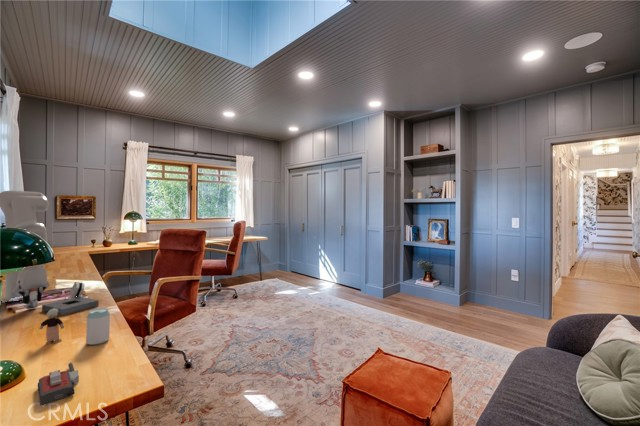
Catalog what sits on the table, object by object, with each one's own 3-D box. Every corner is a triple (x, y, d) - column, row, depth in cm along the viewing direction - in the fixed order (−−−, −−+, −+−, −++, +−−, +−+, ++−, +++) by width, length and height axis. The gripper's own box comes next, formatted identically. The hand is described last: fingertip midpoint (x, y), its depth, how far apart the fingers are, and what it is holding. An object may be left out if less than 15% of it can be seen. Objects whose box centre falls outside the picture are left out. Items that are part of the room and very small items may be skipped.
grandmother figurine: (66, 338, 114) (67, 306, 113) (62, 342, 110) (63, 309, 110) (40, 341, 110) (41, 308, 110) (36, 346, 107) (37, 311, 107)
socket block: (42, 311, 143) (42, 304, 143) (78, 301, 157) (79, 296, 157) (62, 315, 137) (62, 309, 137) (98, 305, 152) (98, 300, 152)
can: (110, 342, 111) (111, 311, 111) (87, 347, 106) (87, 315, 106) (107, 336, 116) (108, 306, 116) (85, 341, 112) (86, 310, 112)
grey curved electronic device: (65, 296, 167) (73, 279, 169) (75, 297, 170) (83, 280, 172) (66, 303, 155) (75, 284, 157) (77, 304, 158) (85, 286, 160)
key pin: (24, 308, 143) (24, 287, 143) (34, 305, 147) (35, 286, 147) (29, 309, 142) (29, 288, 141) (39, 306, 145) (39, 287, 145)
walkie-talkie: (83, 395, 80) (74, 367, 94) (83, 379, 80) (74, 353, 94) (39, 410, 74) (36, 377, 88) (39, 392, 74) (37, 362, 88)
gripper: (49, 262, 153) (48, 296, 153) (6, 267, 137) (4, 306, 138) (58, 263, 150) (56, 298, 151) (14, 269, 135) (13, 308, 135)
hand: (32, 301), depth 144 cm, fingers closed on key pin, 4 cm apart
